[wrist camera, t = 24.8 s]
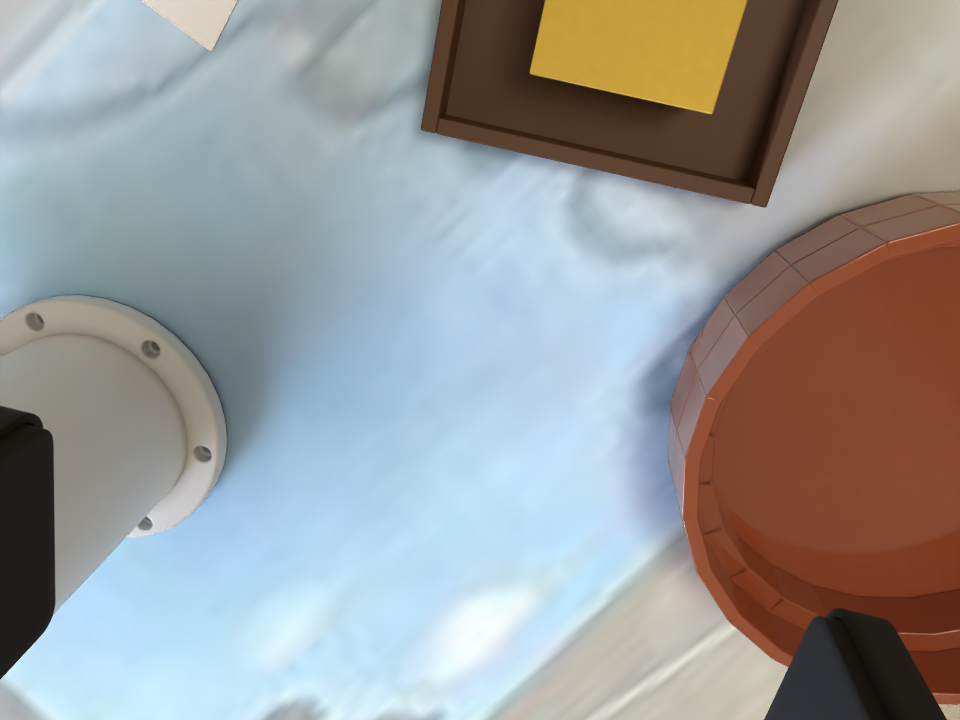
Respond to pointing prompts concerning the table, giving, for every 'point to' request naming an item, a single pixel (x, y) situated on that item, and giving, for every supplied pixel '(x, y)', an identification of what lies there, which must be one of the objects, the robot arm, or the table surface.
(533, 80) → the tray
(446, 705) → the table surface
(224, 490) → the table surface
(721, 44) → the sponge
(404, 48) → the table surface
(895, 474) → the terracotta plant saucer
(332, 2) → the table surface
